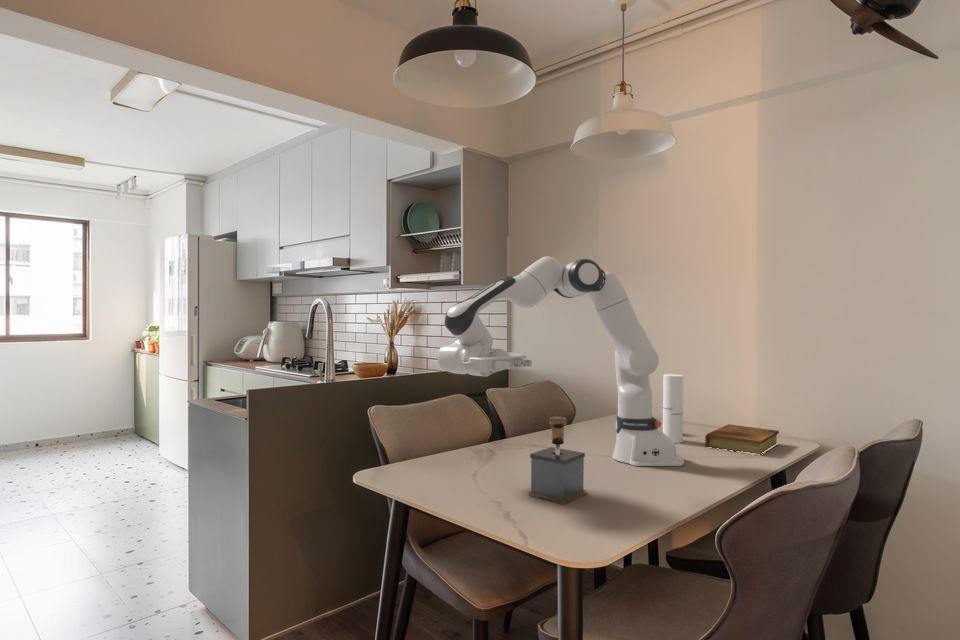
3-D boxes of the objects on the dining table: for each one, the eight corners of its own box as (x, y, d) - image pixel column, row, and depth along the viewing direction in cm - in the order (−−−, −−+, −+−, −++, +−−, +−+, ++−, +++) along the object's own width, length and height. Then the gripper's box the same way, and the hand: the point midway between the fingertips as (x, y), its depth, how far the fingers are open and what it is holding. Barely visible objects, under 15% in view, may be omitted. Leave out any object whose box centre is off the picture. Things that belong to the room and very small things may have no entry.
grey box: (550, 485, 159) (551, 446, 159) (585, 494, 152) (586, 453, 152) (528, 495, 150) (528, 454, 150) (564, 504, 143) (564, 461, 143)
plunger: (552, 483, 157) (553, 414, 157) (578, 488, 152) (578, 417, 151) (536, 489, 151) (536, 418, 150) (562, 496, 146) (563, 422, 145)
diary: (726, 438, 223) (726, 424, 223) (778, 446, 211) (778, 430, 211) (705, 448, 206) (705, 432, 206) (760, 457, 194) (761, 440, 194)
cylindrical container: (666, 438, 220) (666, 373, 220) (684, 440, 216) (685, 375, 216) (660, 441, 215) (660, 375, 214) (679, 444, 210) (680, 376, 210)
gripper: (458, 352, 159) (498, 354, 150) (503, 348, 175) (540, 351, 166) (458, 374, 159) (497, 378, 150) (503, 369, 175) (540, 372, 166)
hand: (520, 364), depth 158 cm, fingers open, 8 cm apart
